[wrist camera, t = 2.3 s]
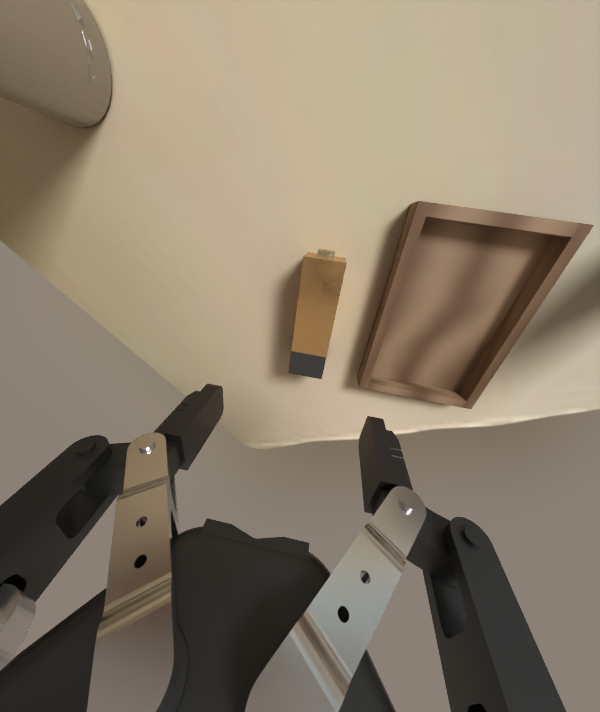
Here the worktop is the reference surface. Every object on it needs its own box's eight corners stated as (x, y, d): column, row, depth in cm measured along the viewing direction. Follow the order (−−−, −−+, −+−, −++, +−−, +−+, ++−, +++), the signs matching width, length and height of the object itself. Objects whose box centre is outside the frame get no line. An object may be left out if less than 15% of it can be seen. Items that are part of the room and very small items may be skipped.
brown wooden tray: (357, 376, 31) (358, 387, 29) (410, 204, 22) (418, 201, 19) (461, 396, 31) (471, 409, 28) (567, 225, 21) (593, 225, 19)
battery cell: (294, 355, 31) (288, 372, 27) (309, 245, 25) (304, 248, 21) (323, 360, 31) (321, 379, 27) (346, 251, 24) (348, 254, 20)
